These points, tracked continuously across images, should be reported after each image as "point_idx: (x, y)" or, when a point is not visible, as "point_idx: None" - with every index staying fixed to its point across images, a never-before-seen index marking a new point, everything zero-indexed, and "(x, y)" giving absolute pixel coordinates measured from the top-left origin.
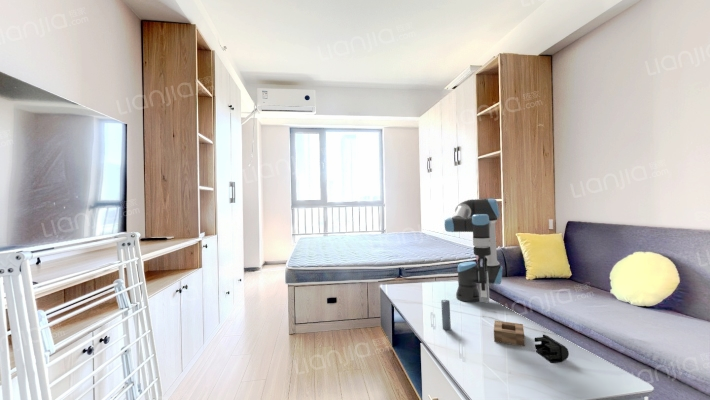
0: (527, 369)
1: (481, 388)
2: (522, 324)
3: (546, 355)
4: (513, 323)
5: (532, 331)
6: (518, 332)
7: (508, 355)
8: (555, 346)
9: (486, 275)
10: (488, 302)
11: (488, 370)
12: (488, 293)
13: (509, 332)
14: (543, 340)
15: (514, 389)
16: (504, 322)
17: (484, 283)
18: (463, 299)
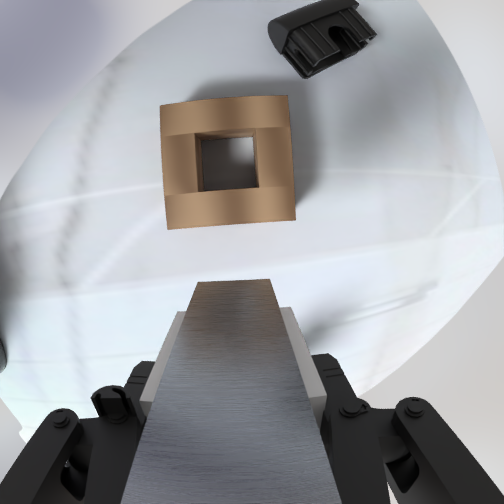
0: (420, 120)
1: (501, 228)
2: (164, 106)
3: (348, 54)
4: (168, 142)
5: (126, 93)
6: (271, 116)
7: (371, 164)
8: (361, 18)
9: (336, 499)
10: (270, 281)
11: (456, 219)
12: (261, 310)
13: (288, 152)
14: (330, 38)
15: (489, 165)
16: (172, 182)
17: (368, 408)
18: (1, 355)
